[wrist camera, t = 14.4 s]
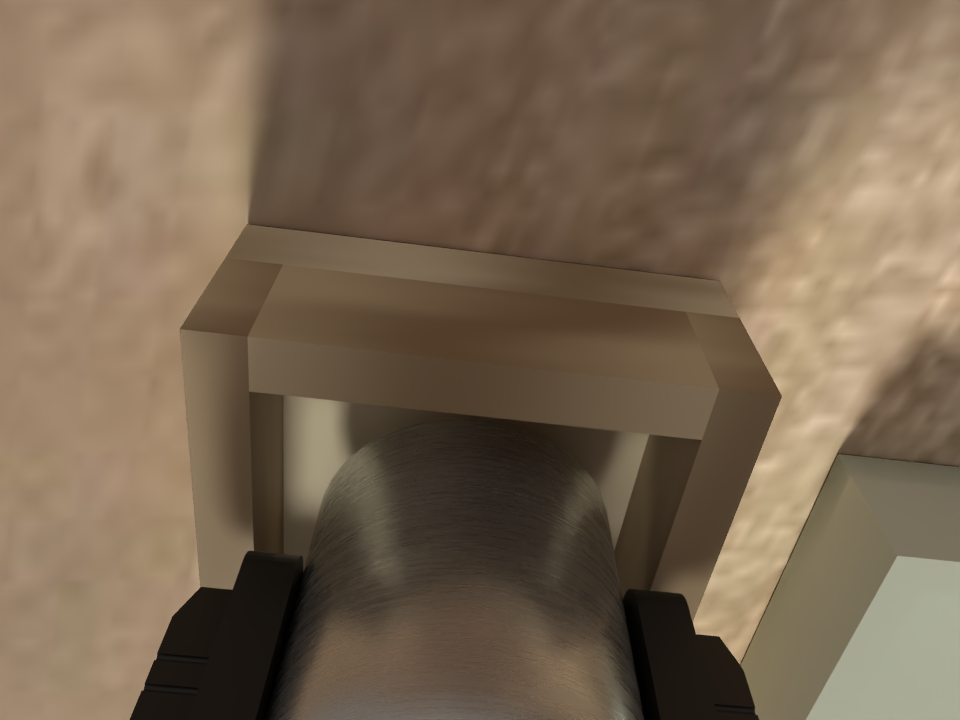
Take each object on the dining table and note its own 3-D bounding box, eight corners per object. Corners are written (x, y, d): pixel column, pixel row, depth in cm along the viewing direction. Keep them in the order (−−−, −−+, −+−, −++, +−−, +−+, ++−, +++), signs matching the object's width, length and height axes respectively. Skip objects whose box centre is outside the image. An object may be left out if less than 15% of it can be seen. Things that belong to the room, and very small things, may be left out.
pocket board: (719, 280, 13) (781, 396, 10) (543, 836, 22) (551, 978, 19) (247, 224, 12) (179, 328, 10) (262, 815, 21) (229, 958, 18)
